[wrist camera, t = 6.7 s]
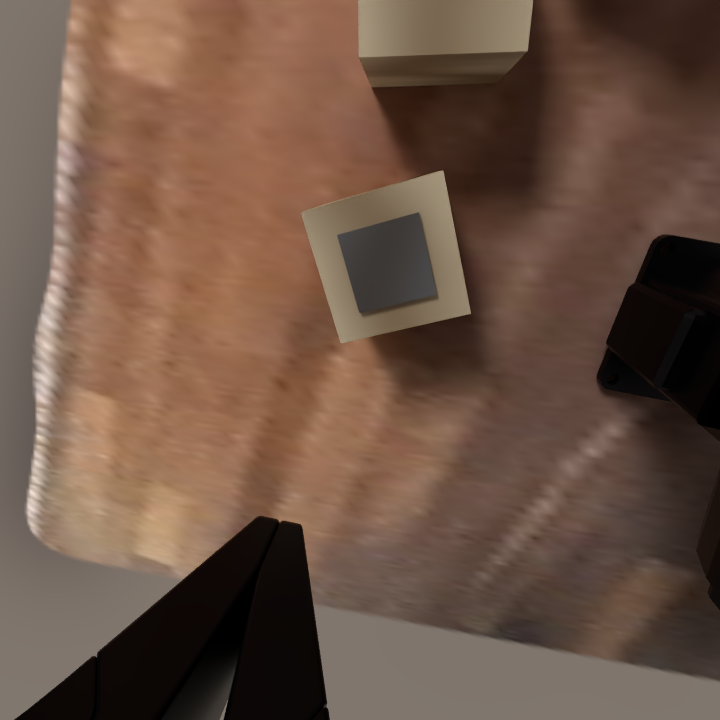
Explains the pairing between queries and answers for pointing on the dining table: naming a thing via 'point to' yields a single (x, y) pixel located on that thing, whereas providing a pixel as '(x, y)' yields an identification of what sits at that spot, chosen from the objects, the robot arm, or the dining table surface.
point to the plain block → (441, 40)
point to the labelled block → (389, 258)
